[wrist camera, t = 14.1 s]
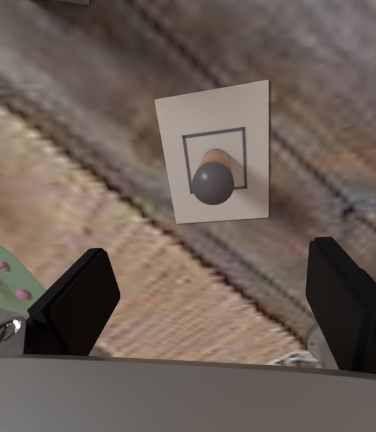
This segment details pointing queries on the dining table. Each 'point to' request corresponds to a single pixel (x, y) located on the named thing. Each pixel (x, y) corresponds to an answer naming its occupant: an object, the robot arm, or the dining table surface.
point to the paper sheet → (218, 139)
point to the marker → (213, 178)
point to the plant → (17, 284)
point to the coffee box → (75, 1)
